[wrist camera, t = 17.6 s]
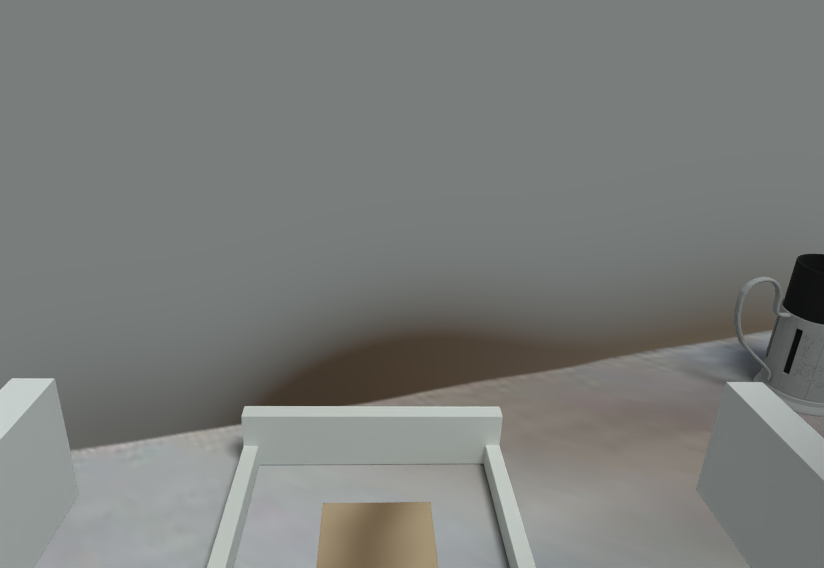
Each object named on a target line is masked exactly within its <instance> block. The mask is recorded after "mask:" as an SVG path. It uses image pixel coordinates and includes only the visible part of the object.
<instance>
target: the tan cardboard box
mask: <svg viewBox="0 0 824 568" xmlns="http://www.w3.org/2000/svg"><path fill="white" fill-rule="evenodd" d="M316 568H439V567H438V559H437V551H436V543H435V535H434V527H433V519H432V511H431V503H430V502H399V503H323V507H322V517H321V527H320V537H319V547H318V557H317V567H316Z"/></svg>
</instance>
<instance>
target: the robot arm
mask: <svg viewBox="0 0 824 568" xmlns="http://www.w3.org/2000/svg"><path fill="white" fill-rule="evenodd" d="M696 490H697V491H698V493H699V494H700V496H701V497H702V498H703V500H704V501H705V503H706V504H707V506H708V507H709V509H710V510H711V511H712V513H713V514H714V516H715V517H716V519H717V520H718V521H719V523H720V524H721V526H722V527H723V529H724V530H725V532H726V533H727V534H728V536H729V537H730V539H731V540H732V542H733V543H734V545H735V546H736V547H737V549H738V550H739V552H740V553H741V555H742V556H743V558H744V559H745V560H746V562H747V563H748V565H749V566H750V568H824V438H823V437H821V436H820V435H819V434H818V433H817V432H816V431H815V430H814V429H813V428H812V427H811V426H810V425H808V424H807V423H806V422H805V421H804V420H803V419H802V418H801V417H800V416H799V415H798V414H797V413H795V412H794V411H793V410H792V409H791V408H790V407H789V406H788V405H787V404H786V403H785V402H784V401H782V400H781V399H780V398H779V397H778V396H777V395H776V394H775V393H774V392H773V391H772V390H770V389H769V388H768V387H767V386H766V385H765V384H764V383H763V382H726V385H725V389H724V392H723V396H722V399H721V403H720V406H719V410H718V413H717V417H716V421H715V424H714V428H713V431H712V435H711V438H710V442H709V445H708V449H707V452H706V456H705V459H704V463H703V466H702V470H701V473H700V477H699V480H698V484H697V488H696ZM78 496H79V490H78V485H77V481H76V476H75V471H74V467H73V462H72V457H71V453H70V448H69V443H68V439H67V434H66V429H65V425H64V420H63V415H62V411H61V406H60V401H59V397H58V392H57V387H56V383H55V379H28V378H26V379H25V378H23V379H19V378H12V379H11V380H10V381H9V382H8V383H7V384H6V385H5V386H4V387H3V388H2V389H1V390H0V568H34V567H35V565H36V563H37V562H38V560H39V559H40V557H41V555H42V554H43V552H44V550H45V549H46V547H47V546H48V544H49V542H50V541H51V539H52V538H53V536H54V534H55V533H56V531H57V530H58V528H59V526H60V525H61V523H62V521H63V520H64V518H65V517H66V515H67V513H68V512H69V510H70V509H71V507H72V505H73V504H74V502H75V500H76V499H77V497H78Z"/></svg>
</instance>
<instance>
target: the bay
mask: <svg viewBox="0 0 824 568" xmlns="http://www.w3.org/2000/svg"><path fill="white" fill-rule="evenodd" d="M241 417H242V431H243V443H244V447H243V450H242V453H241V457H240V460H239V463H238V467H237V470H236V473H235V477H234V480H233V483H232V486H231V490H230V493H229V496H228V500H227V503H226V506H225V510H224V513H223V516H222V520H221V523H220V526H219V529H218V533H217V536H216V539H215V543H214V546H213V549H212V553H211V556H210V559H209V563H208V566H207V568H233V566H234V563H235V559H236V555H237V551H238V547H239V543H240V539H241V535H242V531H243V527H244V523H245V519H246V515H247V511H248V507H249V504H250V500H251V496H252V492H253V488H254V484H255V480H256V476H257V472H258V468H259V465H346V464H484V467H485V471H486V475H487V479H488V483H489V487H490V491H491V495H492V499H493V503H494V507H495V511H496V515H497V519H498V523H499V527H500V531H501V535H502V539H503V543H504V546H505V550H506V554H507V558H508V562H509V566H510V568H536V566H535V563H534V560H533V556H532V553H531V550H530V546H529V543H528V540H527V536H526V533H525V530H524V526H523V523H522V520H521V516H520V513H519V510H518V506H517V503H516V500H515V496H514V493H513V490H512V486H511V483H510V480H509V476H508V473H507V470H506V466H505V463H504V460H503V456H502V453H501V450H500V446H499V443H500V435H501V426H502V418H503V416H502V413H501V410H500V407H405V406H245V407H244V410H243V413H242V416H241Z"/></svg>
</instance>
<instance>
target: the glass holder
mask: <svg viewBox="0 0 824 568" xmlns="http://www.w3.org/2000/svg"><path fill="white" fill-rule="evenodd" d="M766 281H769V282H771V283H772V284H773V285H774V287H775V292H776V294H775V300H774V304H773V311H774V313H775V314H776V315H777V319H776V322H775V325H774V328H773V332H772V335H771V338H770V342H769V345H768V348H767V351H766V355H765V358H764V361H762V360H761V359H760V358H759V357H758V356H757V355H755V353H754V352H753V351H752V350H751V349H750V348H749V346H748V345H747V343H746V342H745V340H744V337H743V334H742V330H741V325H740V321H741V320H740V317H741V316H740V315H741V309H742V304H743V300H744V298H745V296H746V293H747V292H748V291H749V290H750V288H751V287H753V286H754V285H756V284H758V283H761V282H766ZM781 300H782V289H781V287H780V285H779V283H778V282H777V281H775V280H774V279H772V278H769V277H759V278H755V279H753V280H751V281H750V282H748V283H747V284H745V286H744V287H743V288H742V289H741V291H740V293H739V296H738V298H737V302H736V307H735V311H734V312H735V314H734V324H735V329H736V333H737V336H738V340H739V342H740V343H741V344H742V346H743V347H744V348H745V349H746V350H747V351H748V353H749V354H750V355H751V356H752V357H753V358H754V359H755V360H756V361H757V362H758V363H759V364H760V365H761V366H762V368H761V370H760V372H759V373H758V374H757V375H756V376H755V377H754V379H753V382H763V383H764V384H765V385H766V386H767V387H768V388H769V389H770V390H772V391H773V392H774V393H775V394H776V395H777V396H778V397H779V398H780V399H781V400H782V401H784V402H785V403H786V404H787V405H788V406H789V407H790V408H791V409H792V410H793V411H794V412H798V413H802V414H806V415H812V416H824V254H804V255H801V256H798V258H797V260H796V264H795V267H794V270H793V273H792V276H791V280H790V283H789V286H788V289H787V293H786V296H785V299H783V301H782V302H781ZM780 304H781V306H780ZM779 308H780V309H779Z"/></svg>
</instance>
